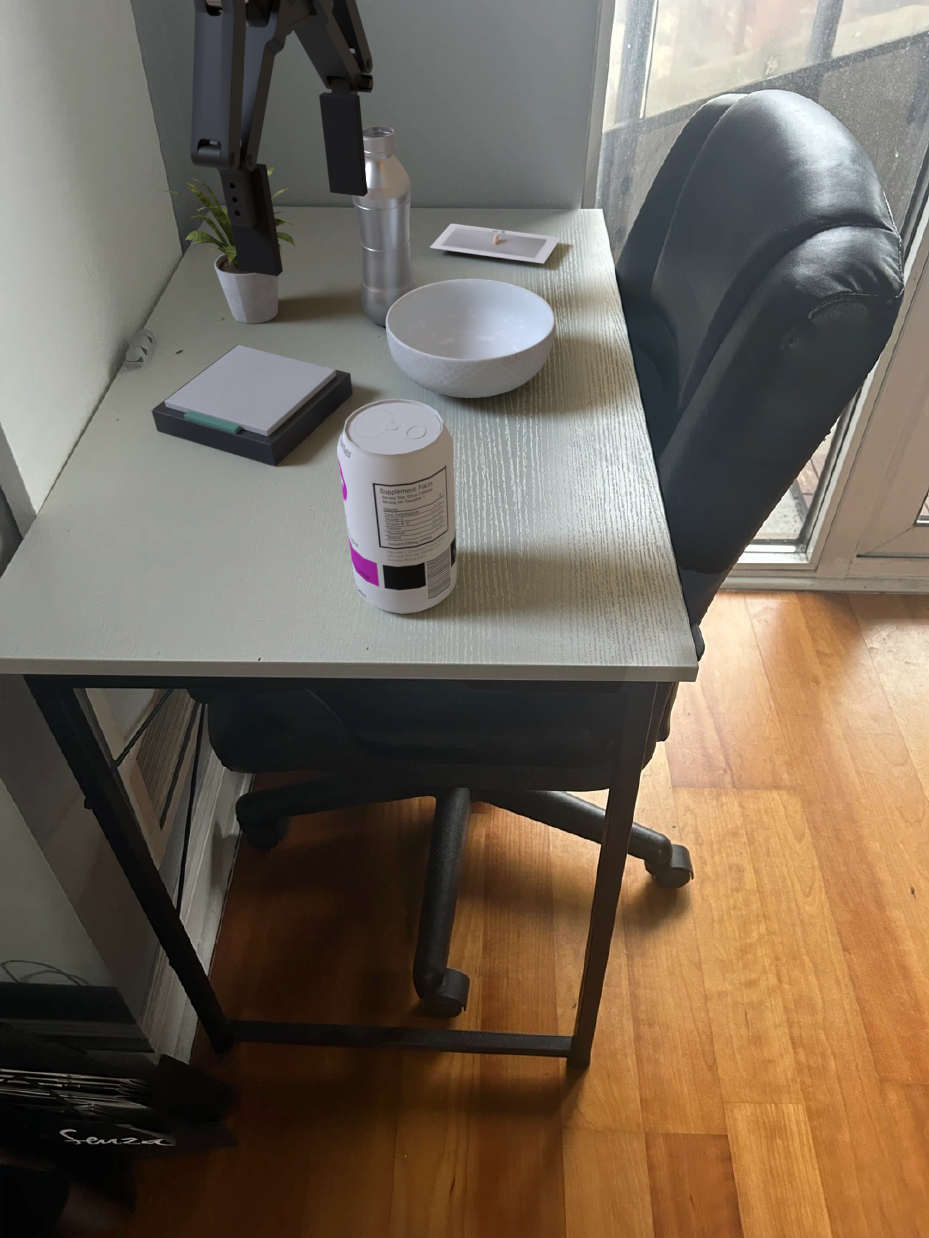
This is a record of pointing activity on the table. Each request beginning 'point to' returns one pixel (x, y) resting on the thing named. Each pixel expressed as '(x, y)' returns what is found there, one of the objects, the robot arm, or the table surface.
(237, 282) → the house plant
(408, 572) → the supplement can
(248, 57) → the robot arm
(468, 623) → the table surface
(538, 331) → the cereal bowl
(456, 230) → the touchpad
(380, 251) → the silver metal bottle
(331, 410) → the scale
